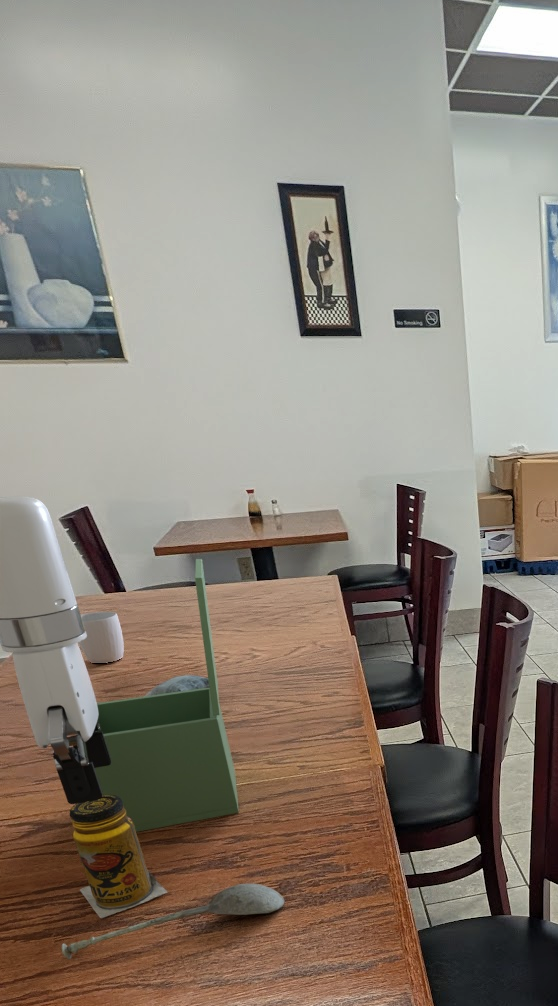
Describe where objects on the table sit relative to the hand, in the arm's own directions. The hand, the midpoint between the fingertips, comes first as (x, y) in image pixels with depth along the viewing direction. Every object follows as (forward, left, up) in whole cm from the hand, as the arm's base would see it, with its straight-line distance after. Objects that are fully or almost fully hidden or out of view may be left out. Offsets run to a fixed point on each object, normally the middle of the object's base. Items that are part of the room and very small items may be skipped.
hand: (91, 782), depth 89 cm
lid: (-7, +26, +9) cm, 29 cm away
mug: (-87, +71, -14) cm, 113 cm away
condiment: (0, 0, -14) cm, 14 cm away
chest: (-13, +20, -14) cm, 28 cm away
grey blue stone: (-46, +53, -14) cm, 72 cm away
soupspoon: (+12, -3, -14) cm, 19 cm away
